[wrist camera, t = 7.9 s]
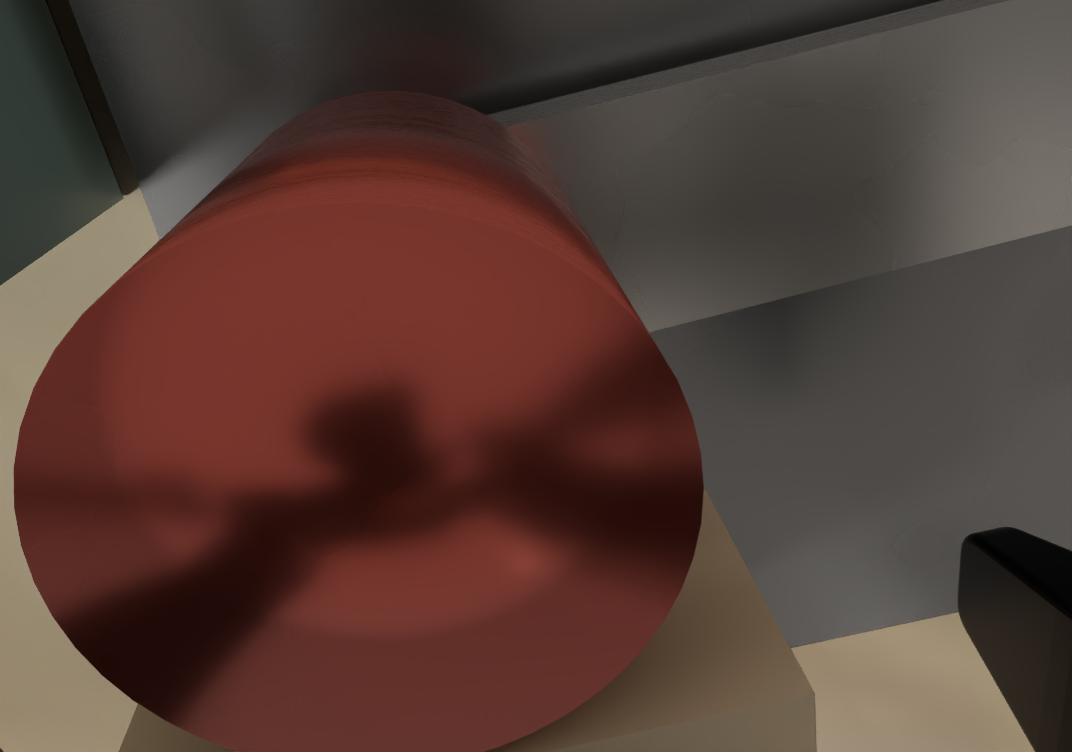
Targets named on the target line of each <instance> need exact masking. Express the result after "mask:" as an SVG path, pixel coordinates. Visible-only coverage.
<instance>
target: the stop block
mask: <svg viewBox="0 0 1072 752" xmlns="http://www.w3.org/2000/svg"><path fill="white" fill-rule="evenodd" d="M119 752H236V751H234V750H231V749H228V748H226V747H223V746H220V745H218V744H215V743H212V742H210V741H207V740H204V739H201V738H199V737H197V736H195V735H193V734H191V733H189V732H187V731H185V730H183V729H181V728H179V727H177V726H175V725H173V724H171V723H169V722H167V721H165V720H163V719H162V718H160V717H159V716H157V715H155V714H154V713H152V712H151V711H149V710H148V709H146V708H144V707H143V706H141V705H140V704H138V705H137V708H136V710H135V713H134V715H133V718H132V720H131V723H130V725H129V728H128V730H127V733H126V735H125V737H124V740H123V742H122V745H121V747H120V750H119ZM484 752H817V748H816V715H815V693H814V691H813V689H812V688H811V686H810V684H809V682H808V680H807V678H806V676H805V675H804V673H803V671H802V669H801V667H800V665H799V663H798V662H797V660H796V658H795V656H794V654H793V652H792V650H791V648H790V647H789V645H788V643H787V641H786V639H785V637H784V635H783V634H782V632H781V630H780V628H779V626H778V624H777V622H776V621H775V619H774V617H773V615H772V613H771V611H770V609H769V607H768V606H767V604H766V602H765V600H764V598H763V596H762V594H761V593H760V591H759V589H758V587H757V585H756V583H755V581H754V579H753V578H752V576H751V574H750V572H749V570H748V568H747V566H746V565H745V563H744V561H743V559H742V557H741V555H740V553H739V552H738V550H737V548H736V546H735V544H734V542H733V540H732V538H731V537H730V535H729V533H728V531H727V529H726V527H725V525H724V524H723V522H722V520H721V518H720V516H719V514H718V512H717V511H716V509H715V507H714V505H713V503H712V501H711V499H710V497H709V496H708V494H707V492H706V490H705V488H704V493H703V507H702V521H701V527H700V531H699V536H698V540H697V545H696V549H695V554H694V558H693V560H692V563H691V566H690V568H689V571H688V573H687V576H686V579H685V581H684V584H683V587H682V589H681V591H680V593H679V595H678V597H677V598H676V600H675V602H674V604H673V606H672V608H671V609H670V611H669V613H668V615H667V617H666V619H665V620H664V622H663V623H662V624H661V626H660V627H659V628H658V630H657V631H656V633H655V634H654V635H653V637H652V638H651V639H650V641H649V642H648V644H647V645H646V646H645V648H644V649H643V650H642V651H641V652H640V653H639V654H638V655H637V656H636V657H635V658H634V659H633V661H632V662H631V663H630V664H629V665H628V666H627V667H626V668H625V669H624V670H623V671H622V672H621V673H620V674H619V675H618V676H617V677H616V678H614V679H613V680H612V681H611V682H610V683H609V684H607V685H606V686H605V687H604V688H603V689H602V690H600V691H599V692H598V693H597V694H596V695H594V696H593V697H592V698H590V699H589V700H587V701H586V702H584V703H583V704H581V705H580V706H578V707H577V708H575V709H574V710H572V711H571V712H570V713H568V714H567V715H565V716H563V717H562V718H560V719H558V720H556V721H554V722H552V723H550V724H549V725H547V726H545V727H543V728H541V729H539V730H537V731H535V732H534V733H532V734H529V735H527V736H524V737H522V738H519V739H517V740H515V741H512V742H510V743H507V744H505V745H503V746H500V747H497V748H494V749H491V750H488V751H484Z"/></svg>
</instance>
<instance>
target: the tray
mask: <svg viewBox="0 0 1072 752" xmlns="http://www.w3.org/2000/svg"><path fill="white" fill-rule="evenodd" d="M122 199H123V196H122V193H121V191H120V188H119V186H118V183H117V181H116V178H115V176H114V173H113V171H112V168H111V166H110V163H109V160H108V158H107V155H106V153H105V150H104V148H103V145H102V143H101V140H100V138H99V135H98V133H97V130H96V128H95V125H94V123H93V120H92V117H91V115H90V112H89V110H88V107H87V105H86V102H85V100H84V97H83V95H82V92H81V90H80V87H79V85H78V82H77V79H76V77H75V74H74V72H73V69H72V67H71V64H70V62H69V59H68V57H67V54H66V52H65V49H64V47H63V44H62V41H61V39H60V36H59V34H58V31H57V29H56V26H55V24H54V21H53V19H52V16H51V14H50V11H49V9H48V6H47V3H46V1H45V0H0V285H2V284H3V283H4V282H6V281H7V280H9V279H10V278H11V277H13V276H14V275H16V274H17V273H18V272H20V271H21V270H23V269H24V268H26V267H27V266H28V265H30V264H31V263H33V262H34V261H35V260H37V259H38V258H40V257H41V256H43V255H44V254H45V253H47V252H48V251H50V250H51V249H52V248H54V247H55V246H57V245H58V244H59V243H61V242H62V241H64V240H65V239H67V238H68V237H69V236H71V235H72V234H74V233H75V232H76V231H78V230H79V229H81V228H82V227H84V226H85V225H86V224H88V223H89V222H91V221H92V220H93V219H95V218H96V217H98V216H99V215H100V214H102V213H103V212H105V211H106V210H108V209H109V208H110V207H112V206H113V205H115V204H116V203H117V202H119V201H120V200H122Z"/></svg>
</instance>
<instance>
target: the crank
mask: <svg viewBox="0 0 1072 752" xmlns="http://www.w3.org/2000/svg"><path fill="white" fill-rule="evenodd" d="M1071 225H1072V0H942V1H938V2H934V3H931V4H927V5H923V6H919V7H915V8H911V9H907V10H903V11H899V12H895V13H891V14H887V15H883V16H879V17H875V18H871V19H867V20H863V21H859V22H855V23H851V24H847V25H843V26H839V27H835V28H831V29H827V30H823V31H819V32H815V33H811V34H807V35H803V36H799V37H795V38H791V39H787V40H783V41H779V42H776V43H772V44H768V45H764V46H760V47H756V48H752V49H748V50H744V51H740V52H736V53H732V54H728V55H724V56H720V57H716V58H712V59H708V60H704V61H700V62H696V63H692V64H688V65H684V66H680V67H676V68H672V69H668V70H664V71H660V72H656V73H652V74H648V75H644V76H640V77H636V78H632V79H628V80H624V81H621V82H617V83H613V84H609V85H605V86H601V87H597V88H593V89H589V90H585V91H581V92H577V93H573V94H569V95H565V96H561V97H557V98H553V99H549V100H545V101H541V102H537V103H533V104H529V105H525V106H521V107H517V108H513V109H509V110H505V111H501V112H497V113H493V114H489V115H484V114H482V113H480V112H478V111H477V110H475V109H473V108H470V107H467V106H465V105H462V104H460V103H457V102H454V101H452V100H449V99H445V98H441V97H436V96H432V95H428V94H424V93H414V92H404V91H380V92H367V93H361V94H356V95H350V96H344V97H341V98H338V99H335V100H332V101H329V102H326V103H323V104H320V105H318V106H316V107H314V108H312V109H309V110H307V111H305V112H303V113H301V114H299V115H297V116H296V117H294V118H293V119H291V120H290V121H288V122H287V123H285V124H284V125H282V126H281V127H279V128H278V129H277V130H275V131H274V132H273V133H272V134H271V135H270V136H269V137H268V138H266V139H265V140H264V141H263V142H262V143H261V144H260V145H259V146H258V147H257V148H256V149H255V150H254V151H253V152H252V153H250V154H249V155H248V156H247V157H246V158H245V159H244V160H243V161H242V162H241V163H240V164H239V165H238V166H237V167H236V168H235V169H234V170H233V171H232V172H231V173H230V174H229V175H227V176H226V177H225V178H224V179H223V180H222V181H221V182H220V183H219V184H218V185H217V186H216V187H215V188H214V189H213V190H212V191H211V192H210V193H209V194H208V195H207V196H206V197H204V198H203V199H202V200H201V201H200V202H199V203H198V204H197V205H196V206H195V207H194V208H193V209H192V210H191V211H190V212H189V213H188V214H187V215H186V216H185V217H184V218H183V219H181V220H180V221H179V222H178V223H177V224H176V225H175V226H174V227H173V228H172V229H171V230H170V231H169V232H168V233H167V234H166V235H165V236H164V237H163V238H162V239H161V240H160V241H158V242H157V243H156V244H155V245H154V246H153V247H152V248H151V249H150V250H149V251H148V252H147V253H146V254H145V255H144V256H143V257H142V258H141V259H140V260H139V261H138V262H137V263H135V264H134V265H133V266H132V267H131V268H130V269H129V270H128V271H127V272H126V273H125V274H124V275H123V276H122V277H121V278H120V279H119V280H118V281H117V282H116V283H115V284H114V285H112V286H111V287H110V288H109V289H108V290H107V291H106V292H105V293H104V294H103V295H102V296H101V297H100V298H99V299H98V300H97V301H96V302H95V303H94V304H93V305H92V306H91V307H89V308H88V309H87V310H86V311H85V312H84V313H83V314H82V316H81V317H80V318H79V319H78V321H77V322H76V323H75V324H74V326H73V327H72V328H71V330H70V331H69V332H68V333H67V335H66V336H65V337H64V338H63V340H62V341H61V342H60V344H59V345H58V346H57V347H56V349H55V350H54V352H53V354H52V356H51V357H50V359H49V361H48V363H47V365H46V366H45V368H44V370H43V372H42V374H41V376H40V377H39V379H38V381H37V383H36V385H35V387H34V389H33V392H32V395H31V397H30V400H29V403H28V406H27V409H26V412H25V415H24V418H23V421H22V424H21V427H20V432H19V438H18V444H17V451H16V457H15V463H14V509H15V514H16V520H17V525H18V530H19V536H20V541H21V546H22V549H23V552H24V555H25V558H26V560H27V563H28V566H29V569H30V572H31V574H32V577H33V580H34V583H35V585H36V587H37V588H38V590H39V592H40V594H41V596H42V598H43V600H44V601H45V603H46V605H47V607H48V609H49V611H50V613H51V614H52V616H53V618H54V619H55V620H56V622H57V623H58V624H59V626H60V627H61V629H62V630H63V631H64V633H65V634H66V635H67V637H68V638H69V639H70V641H71V642H72V643H73V645H74V646H75V648H76V649H77V650H78V651H79V652H80V653H81V654H82V655H83V656H84V657H85V658H86V659H87V660H88V661H89V662H90V663H91V664H92V665H93V666H94V667H95V668H96V669H97V670H98V671H99V672H100V674H101V675H102V676H104V677H105V678H106V679H107V680H109V681H110V682H111V683H112V684H113V685H115V686H116V687H117V688H118V689H120V690H121V691H122V692H123V693H125V694H126V695H127V696H128V697H130V698H131V699H132V700H133V701H135V702H137V703H138V704H140V705H141V706H143V707H144V708H146V709H148V710H149V711H151V712H152V713H154V714H155V715H157V716H159V717H160V718H162V719H163V720H165V721H167V722H169V723H171V724H173V725H175V726H177V727H179V728H181V729H183V730H185V731H187V732H189V733H191V734H193V735H195V736H197V737H199V738H201V739H204V740H207V741H210V742H212V743H215V744H218V745H220V746H223V747H226V748H228V749H231V750H234V751H236V752H484V751H488V750H491V749H494V748H497V747H500V746H503V745H505V744H507V743H510V742H512V741H515V740H517V739H519V738H522V737H524V736H527V735H529V734H532V733H534V732H535V731H537V730H539V729H541V728H543V727H545V726H547V725H549V724H550V723H552V722H554V721H556V720H558V719H560V718H562V717H563V716H565V715H567V714H568V713H570V712H571V711H572V710H574V709H575V708H577V707H578V706H580V705H581V704H583V703H584V702H586V701H587V700H589V699H590V698H592V697H593V696H594V695H596V694H597V693H598V692H599V691H600V690H602V689H603V688H604V687H605V686H606V685H607V684H609V683H610V682H611V681H612V680H613V679H614V678H616V677H617V676H618V675H619V674H620V673H621V672H622V671H623V670H624V669H625V668H626V667H627V666H628V665H629V664H630V663H631V662H632V661H633V659H634V658H635V657H636V656H637V655H638V654H639V653H640V652H641V651H642V650H643V649H644V648H645V646H646V645H647V644H648V642H649V641H650V639H651V638H652V637H653V635H654V634H655V633H656V631H657V630H658V628H659V627H660V626H661V624H662V623H663V622H664V620H665V619H666V617H667V615H668V613H669V611H670V609H671V608H672V606H673V604H674V602H675V600H676V598H677V597H678V595H679V593H680V591H681V589H682V587H683V584H684V581H685V579H686V576H687V573H688V571H689V568H690V566H691V563H692V560H693V558H694V554H695V549H696V545H697V540H698V536H699V531H700V527H701V521H702V507H703V493H704V484H703V471H702V459H701V450H700V446H699V442H698V438H697V434H696V429H695V425H694V421H693V417H692V414H691V412H690V409H689V407H688V404H687V402H686V399H685V397H684V395H683V392H682V390H681V387H680V385H679V382H678V380H677V378H676V377H675V375H674V373H673V372H672V370H671V368H670V367H669V365H668V363H667V362H666V360H665V358H664V357H663V355H662V353H661V352H660V350H659V348H658V347H657V345H656V343H655V342H654V340H653V339H652V337H651V335H650V334H649V332H652V331H656V330H660V329H664V328H668V327H672V326H676V325H680V324H684V323H688V322H692V321H696V320H700V319H703V318H707V317H711V316H715V315H719V314H723V313H727V312H731V311H735V310H739V309H743V308H747V307H751V306H755V305H759V304H763V303H767V302H771V301H775V300H779V299H783V298H786V297H790V296H794V295H798V294H802V293H806V292H810V291H814V290H818V289H822V288H826V287H830V286H834V285H838V284H842V283H846V282H850V281H854V280H858V279H862V278H866V277H869V276H873V275H877V274H881V273H885V272H889V271H893V270H897V269H901V268H905V267H909V266H913V265H917V264H921V263H925V262H929V261H933V260H937V259H941V258H945V257H948V256H952V255H956V254H960V253H964V252H968V251H972V250H976V249H980V248H984V247H988V246H992V245H996V244H1000V243H1004V242H1008V241H1012V240H1016V239H1020V238H1024V237H1028V236H1031V235H1035V234H1039V233H1043V232H1047V231H1051V230H1055V229H1059V228H1063V227H1067V226H1071Z"/></svg>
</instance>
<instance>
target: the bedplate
mask: <svg viewBox="0 0 1072 752" xmlns="http://www.w3.org/2000/svg"><path fill="white" fill-rule="evenodd" d="M68 1H69V3H70V6H71V9H72V11H73V14H74V16H75V19H76V22H77V24H78V27H79V29H80V32H81V35H82V37H83V40H84V42H85V45H86V48H87V50H88V53H89V56H90V58H91V61H92V63H93V66H94V69H95V71H96V74H97V76H98V79H99V82H100V84H101V87H102V89H103V92H104V95H105V97H106V100H107V102H108V105H109V108H110V110H111V113H112V115H113V118H114V121H115V123H116V126H117V129H118V131H119V134H120V136H121V139H122V142H123V144H124V147H125V149H126V152H127V155H128V157H129V160H130V162H131V165H132V168H133V170H134V173H135V175H136V178H137V181H138V183H139V186H140V188H141V191H142V194H143V196H144V199H145V201H146V204H147V207H148V209H149V212H150V215H151V217H152V220H153V222H154V225H155V228H156V230H157V233H158V235H159V238H160V240H161V239H162V238H163V237H164V236H165V235H166V234H167V233H168V232H169V231H170V230H171V229H172V228H173V227H174V226H175V225H176V224H177V223H178V222H179V221H180V220H181V219H183V218H184V217H185V216H186V215H187V214H188V213H189V212H190V211H191V210H192V209H193V208H194V207H195V206H196V205H197V204H198V203H199V202H200V201H201V200H202V199H203V198H204V197H206V196H207V195H208V194H209V193H210V192H211V191H212V190H213V189H214V188H215V187H216V186H217V185H218V184H219V183H220V182H221V181H222V180H223V179H224V178H225V177H226V176H227V175H229V174H230V173H231V172H232V171H233V170H234V169H235V168H236V167H237V166H238V165H239V164H240V163H241V162H242V161H243V160H244V159H245V158H246V157H247V156H248V155H249V154H250V153H252V152H253V151H254V150H255V149H256V148H257V147H258V146H259V145H260V144H261V143H262V142H263V141H264V140H265V139H266V138H268V137H269V136H270V135H271V134H272V133H273V132H274V131H275V130H277V129H278V128H279V127H281V126H282V125H284V124H285V123H287V122H288V121H290V120H291V119H293V118H294V117H296V116H297V115H299V114H301V113H303V112H305V111H307V110H309V109H312V108H314V107H316V106H318V105H320V104H323V103H326V102H329V101H332V100H335V99H338V98H341V97H344V96H350V95H356V94H361V93H367V92H380V91H404V92H414V93H424V94H428V95H432V96H436V97H441V98H445V99H449V100H452V101H454V102H457V103H460V104H462V105H465V106H467V107H470V108H473V109H475V110H477V111H478V112H480V113H482V114H484V115H489V114H493V113H497V112H501V111H505V110H509V109H513V108H517V107H521V106H525V105H529V104H533V103H537V102H541V101H545V100H549V99H553V98H557V97H561V96H565V95H569V94H573V93H577V92H581V91H585V90H589V89H593V88H597V87H601V86H605V85H609V84H613V83H617V82H621V81H624V80H628V79H632V78H636V77H640V76H644V75H648V74H652V73H656V72H660V71H664V70H668V69H672V68H676V67H680V66H684V65H688V64H692V63H696V62H700V61H704V60H708V59H712V58H716V57H720V56H724V55H728V54H732V53H736V52H740V51H744V50H748V49H752V48H756V47H760V46H764V45H768V44H772V43H776V42H779V41H783V40H787V39H791V38H795V37H799V36H803V35H807V34H811V33H815V32H819V31H823V30H827V29H831V28H835V27H839V26H843V25H847V24H851V23H855V22H859V21H863V20H867V19H871V18H875V17H879V16H883V15H887V14H891V13H895V12H899V11H903V10H907V9H911V8H915V7H919V6H923V5H927V4H931V3H934V2H938V1H942V0H68ZM649 334H650V335H651V337H652V339H653V340H654V342H655V343H656V345H657V347H658V348H659V350H660V352H661V353H662V355H663V357H664V358H665V360H666V362H667V363H668V365H669V367H670V368H671V370H672V372H673V373H674V375H675V377H676V378H677V380H678V382H679V385H680V387H681V390H682V392H683V395H684V397H685V399H686V402H687V404H688V407H689V409H690V412H691V414H692V417H693V421H694V425H695V429H696V434H697V438H698V442H699V446H700V450H701V459H702V471H703V484H704V488H705V490H706V492H707V494H708V496H709V497H710V499H711V501H712V503H713V505H714V507H715V509H716V511H717V512H718V514H719V516H720V518H721V520H722V522H723V524H724V525H725V527H726V529H727V531H728V533H729V535H730V537H731V538H732V540H733V542H734V544H735V546H736V548H737V550H738V552H739V553H740V555H741V557H742V559H743V561H744V563H745V565H746V566H747V568H748V570H749V572H750V574H751V576H752V578H753V579H754V581H755V583H756V585H757V587H758V589H759V591H760V593H761V594H762V596H763V598H764V600H765V602H766V604H767V606H768V607H769V609H770V611H771V613H772V615H773V617H774V619H775V621H776V622H777V624H778V626H779V628H780V630H781V632H782V634H783V635H784V637H785V639H786V641H787V643H788V645H789V647H790V648H793V647H798V646H803V645H807V644H812V643H817V642H821V641H826V640H831V639H835V638H840V637H844V636H849V635H854V634H858V633H863V632H868V631H872V630H877V629H882V628H886V627H891V626H896V625H900V624H905V623H909V622H914V621H919V620H923V619H928V618H933V617H937V616H942V615H947V614H951V613H956V612H959V611H958V604H957V596H958V582H959V568H960V553H961V546H962V542H963V540H964V539H965V538H966V536H968V535H970V534H972V533H976V532H981V531H985V530H990V529H995V528H999V527H1013V528H1016V529H1019V530H1022V531H1024V532H1027V533H1029V534H1032V535H1034V536H1037V537H1039V538H1042V539H1044V540H1047V541H1049V542H1051V543H1054V544H1056V545H1059V546H1061V547H1064V548H1066V549H1069V550H1071V551H1072V225H1071V226H1067V227H1063V228H1059V229H1055V230H1051V231H1047V232H1043V233H1039V234H1035V235H1031V236H1028V237H1024V238H1020V239H1016V240H1012V241H1008V242H1004V243H1000V244H996V245H992V246H988V247H984V248H980V249H976V250H972V251H968V252H964V253H960V254H956V255H952V256H948V257H945V258H941V259H937V260H933V261H929V262H925V263H921V264H917V265H913V266H909V267H905V268H901V269H897V270H893V271H889V272H885V273H881V274H877V275H873V276H869V277H866V278H862V279H858V280H854V281H850V282H846V283H842V284H838V285H834V286H830V287H826V288H822V289H818V290H814V291H810V292H806V293H802V294H798V295H794V296H790V297H786V298H783V299H779V300H775V301H771V302H767V303H763V304H759V305H755V306H751V307H747V308H743V309H739V310H735V311H731V312H727V313H723V314H719V315H715V316H711V317H707V318H703V319H700V320H696V321H692V322H688V323H684V324H680V325H676V326H672V327H668V328H664V329H660V330H656V331H652V332H649Z"/></svg>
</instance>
